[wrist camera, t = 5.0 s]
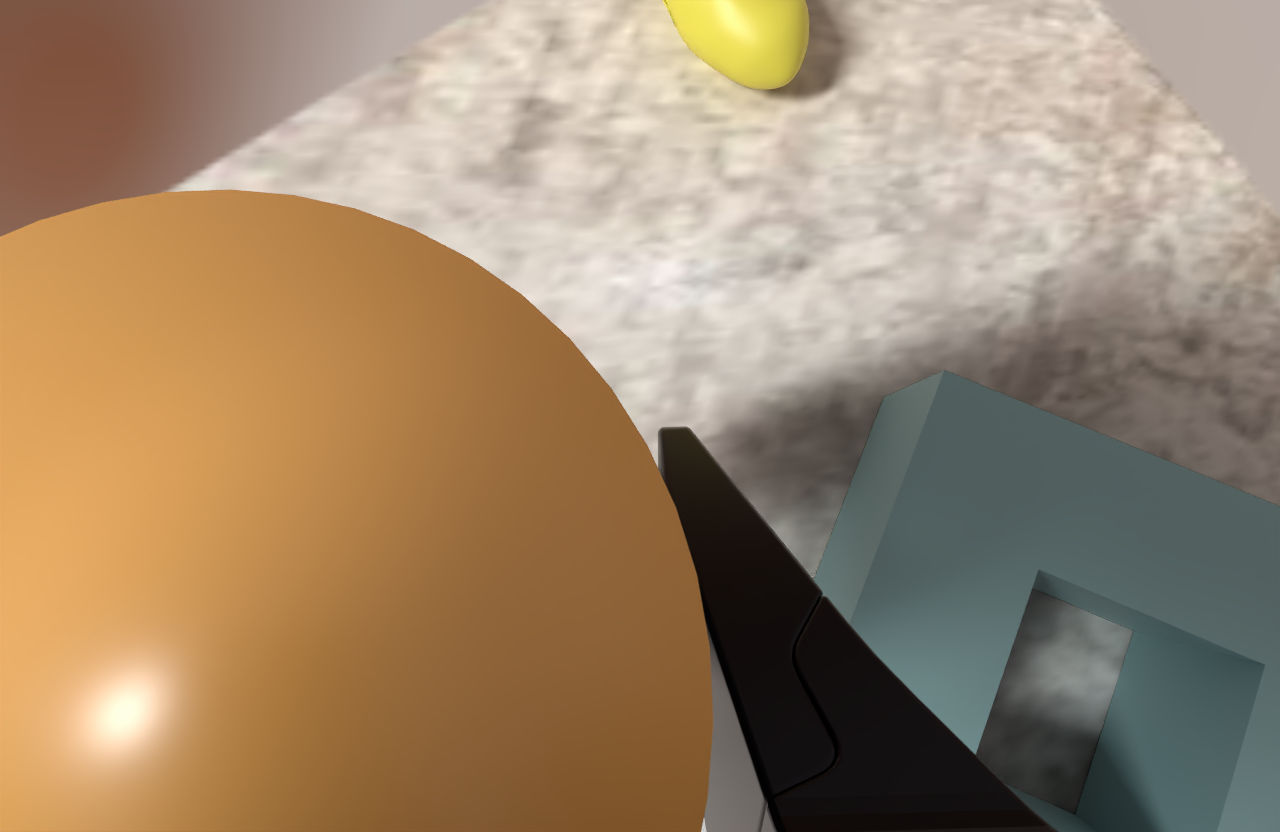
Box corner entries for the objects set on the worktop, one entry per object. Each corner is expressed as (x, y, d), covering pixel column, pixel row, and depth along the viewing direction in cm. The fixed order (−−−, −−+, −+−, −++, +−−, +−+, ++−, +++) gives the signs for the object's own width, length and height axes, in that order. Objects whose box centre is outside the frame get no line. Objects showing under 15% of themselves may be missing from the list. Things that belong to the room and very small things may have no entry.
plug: (580, 661, 15) (175, 1653, 2) (449, 548, 15) (-603, 785, 2) (690, 523, 15) (931, 621, 2) (559, 417, 16) (164, 8, 3)
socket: (1161, 1003, 20) (1313, 1150, 15) (727, 804, 20) (750, 888, 16) (1289, 564, 21) (1460, 580, 17) (883, 397, 22) (944, 369, 18)
